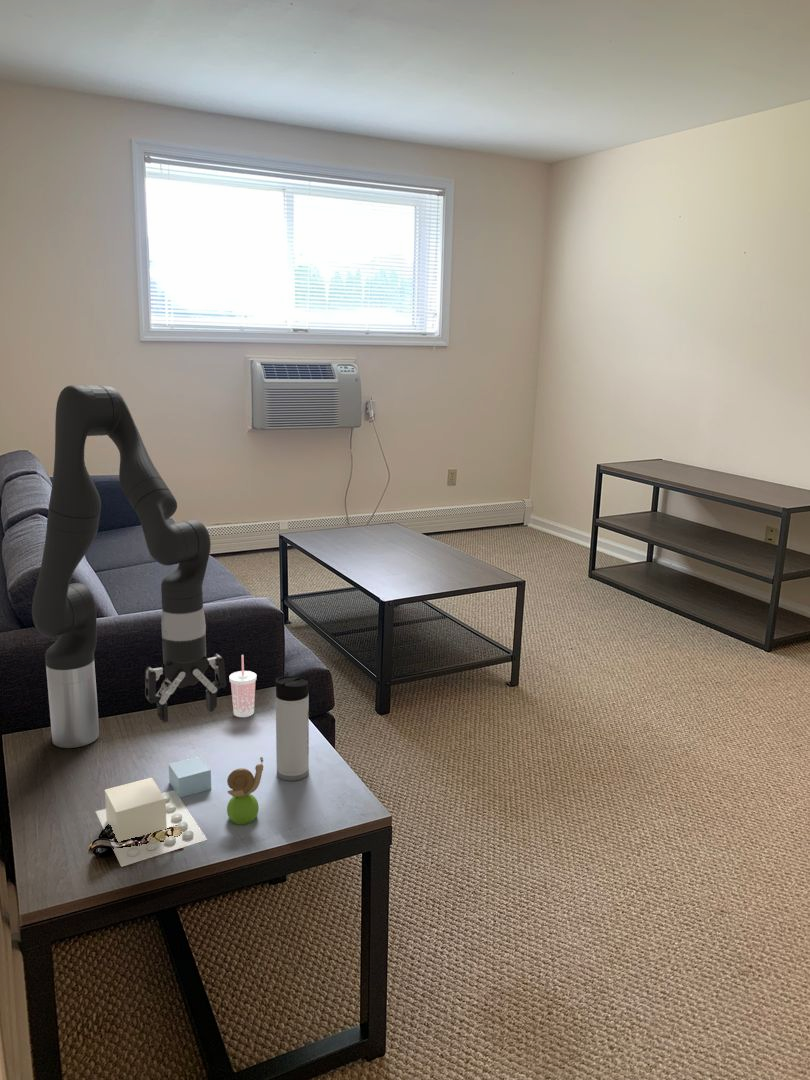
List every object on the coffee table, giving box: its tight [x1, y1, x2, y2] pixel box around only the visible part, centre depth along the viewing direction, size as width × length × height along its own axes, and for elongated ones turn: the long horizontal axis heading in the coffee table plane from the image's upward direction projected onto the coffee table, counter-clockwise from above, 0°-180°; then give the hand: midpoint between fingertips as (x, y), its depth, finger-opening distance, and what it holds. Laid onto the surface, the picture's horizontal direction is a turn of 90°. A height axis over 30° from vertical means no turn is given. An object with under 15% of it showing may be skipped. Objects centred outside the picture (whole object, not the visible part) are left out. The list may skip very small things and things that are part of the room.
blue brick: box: [168, 755, 212, 799], centre depth 149 cm, size 6×6×5 cm
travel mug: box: [275, 675, 310, 782], centre depth 154 cm, size 6×7×20 cm
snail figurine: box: [226, 756, 264, 825], centre depth 139 cm, size 5×6×12 cm
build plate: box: [94, 789, 208, 868], centre depth 137 cm, size 18×14×2 cm
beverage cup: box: [229, 654, 257, 718], centre depth 181 cm, size 6×6×14 cm
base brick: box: [104, 777, 167, 842], centre depth 136 cm, size 8×8×6 cm
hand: (187, 715), depth 146 cm, fingers open, 8 cm apart
